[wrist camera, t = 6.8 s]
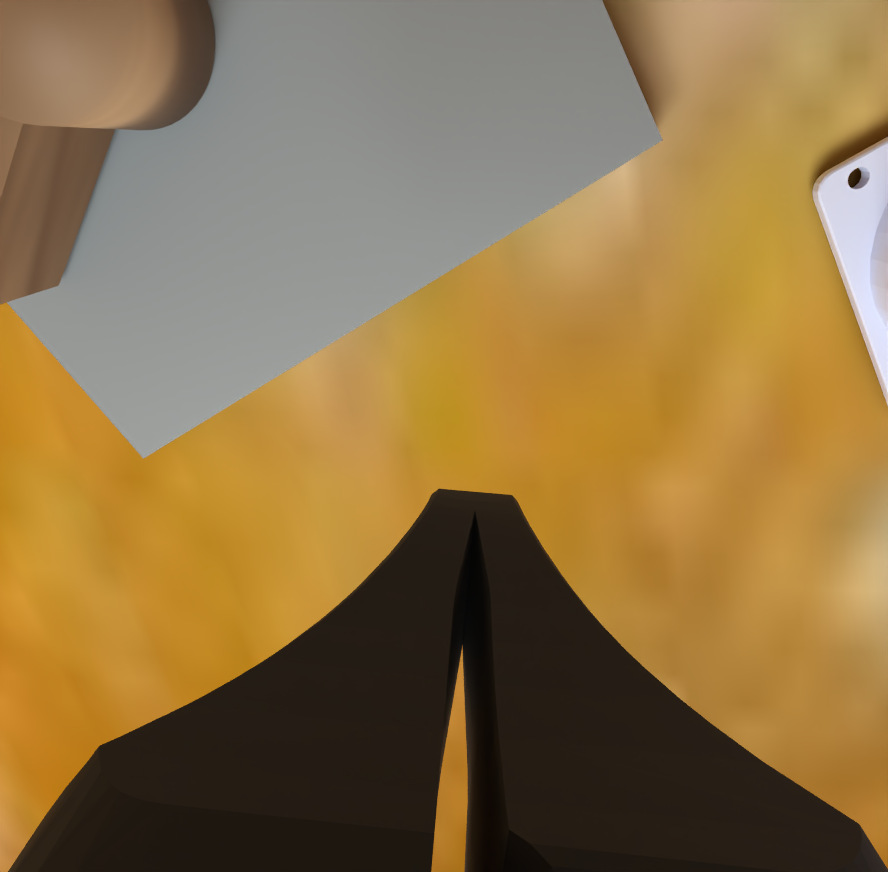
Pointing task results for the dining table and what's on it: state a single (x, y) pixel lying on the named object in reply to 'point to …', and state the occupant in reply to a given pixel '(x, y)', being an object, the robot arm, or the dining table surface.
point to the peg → (82, 111)
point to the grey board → (325, 188)
